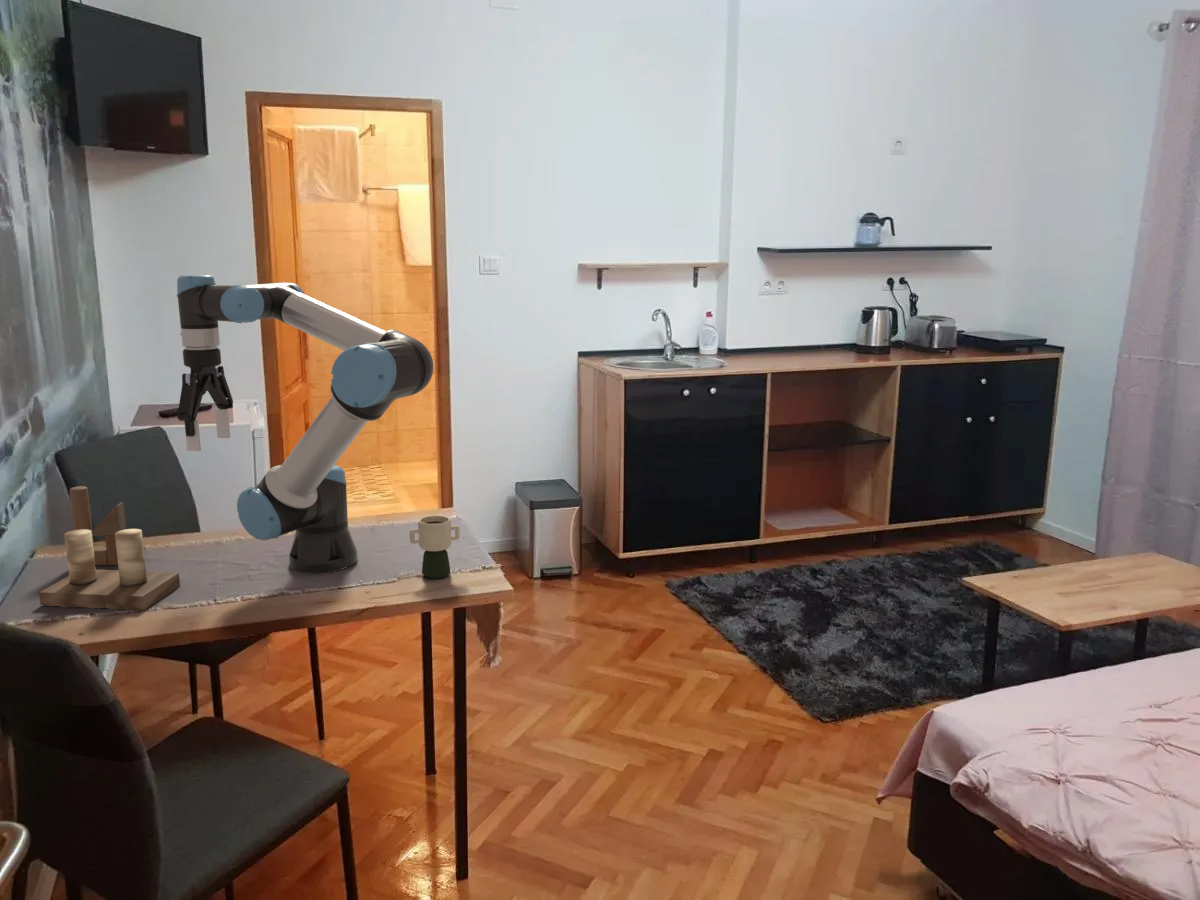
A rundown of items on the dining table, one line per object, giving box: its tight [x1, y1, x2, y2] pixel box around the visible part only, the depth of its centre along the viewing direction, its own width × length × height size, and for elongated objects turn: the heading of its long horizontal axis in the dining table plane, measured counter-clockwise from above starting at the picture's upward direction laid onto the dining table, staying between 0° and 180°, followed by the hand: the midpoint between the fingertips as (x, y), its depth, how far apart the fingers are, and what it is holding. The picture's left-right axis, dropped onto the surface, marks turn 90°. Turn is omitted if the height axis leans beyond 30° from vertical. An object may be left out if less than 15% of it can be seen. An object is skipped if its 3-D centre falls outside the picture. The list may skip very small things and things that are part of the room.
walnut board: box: [38, 529, 181, 612], centre depth 199 cm, size 22×14×14 cm, turn 85°
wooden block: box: [69, 485, 127, 566], centre depth 218 cm, size 4×11×18 cm, turn 95°
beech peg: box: [115, 528, 147, 587], centre depth 199 cm, size 5×5×14 cm
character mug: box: [409, 514, 461, 579], centre depth 212 cm, size 11×7×13 cm, turn 108°
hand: (209, 444), depth 212 cm, fingers open, 13 cm apart
